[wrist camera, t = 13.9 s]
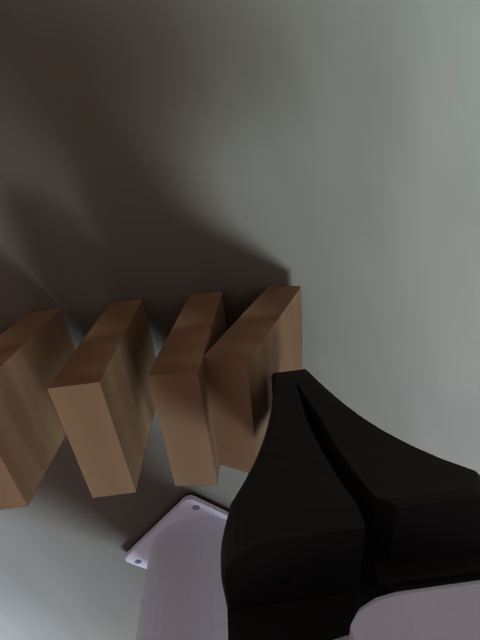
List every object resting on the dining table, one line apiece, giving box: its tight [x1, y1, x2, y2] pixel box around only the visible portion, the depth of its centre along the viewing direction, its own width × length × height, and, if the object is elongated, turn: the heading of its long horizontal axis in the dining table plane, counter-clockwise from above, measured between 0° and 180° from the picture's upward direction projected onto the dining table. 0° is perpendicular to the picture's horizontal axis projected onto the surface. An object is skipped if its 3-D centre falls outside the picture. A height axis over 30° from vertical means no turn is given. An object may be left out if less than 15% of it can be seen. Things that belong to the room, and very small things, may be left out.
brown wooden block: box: [203, 285, 302, 473], centre depth 15 cm, size 2×5×7 cm, turn 5°
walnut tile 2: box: [147, 292, 227, 486], centre depth 15 cm, size 2×5×7 cm, turn 5°
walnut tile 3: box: [47, 299, 156, 498], centre depth 15 cm, size 2×5×7 cm, turn 5°
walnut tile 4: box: [0, 309, 75, 510], centre depth 14 cm, size 2×5×7 cm, turn 5°
